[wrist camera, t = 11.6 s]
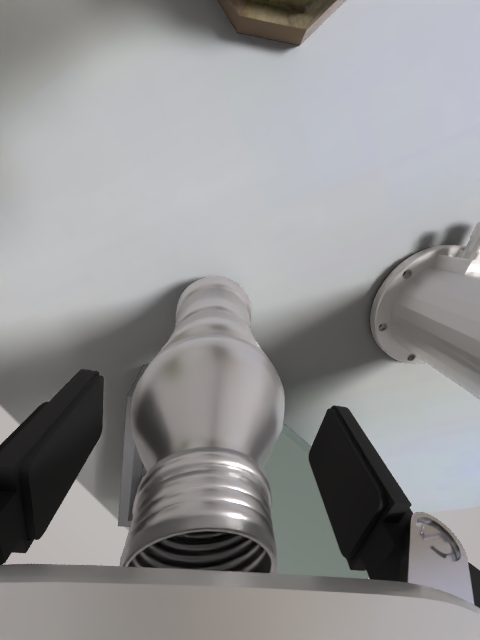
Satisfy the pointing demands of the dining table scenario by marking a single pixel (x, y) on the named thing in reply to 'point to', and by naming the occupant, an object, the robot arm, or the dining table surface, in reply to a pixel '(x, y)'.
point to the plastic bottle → (206, 440)
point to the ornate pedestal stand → (279, 17)
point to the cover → (301, 514)
